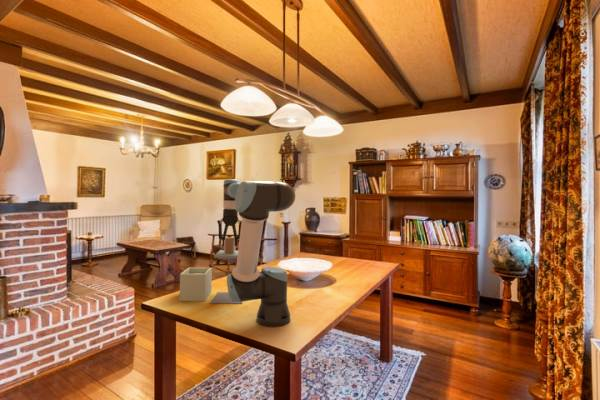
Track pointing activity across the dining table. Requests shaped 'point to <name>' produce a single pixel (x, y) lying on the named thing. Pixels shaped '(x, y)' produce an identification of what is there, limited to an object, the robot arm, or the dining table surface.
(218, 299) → the mat
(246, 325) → the dining table surface
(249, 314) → the dining table surface
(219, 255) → the lid
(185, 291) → the box
